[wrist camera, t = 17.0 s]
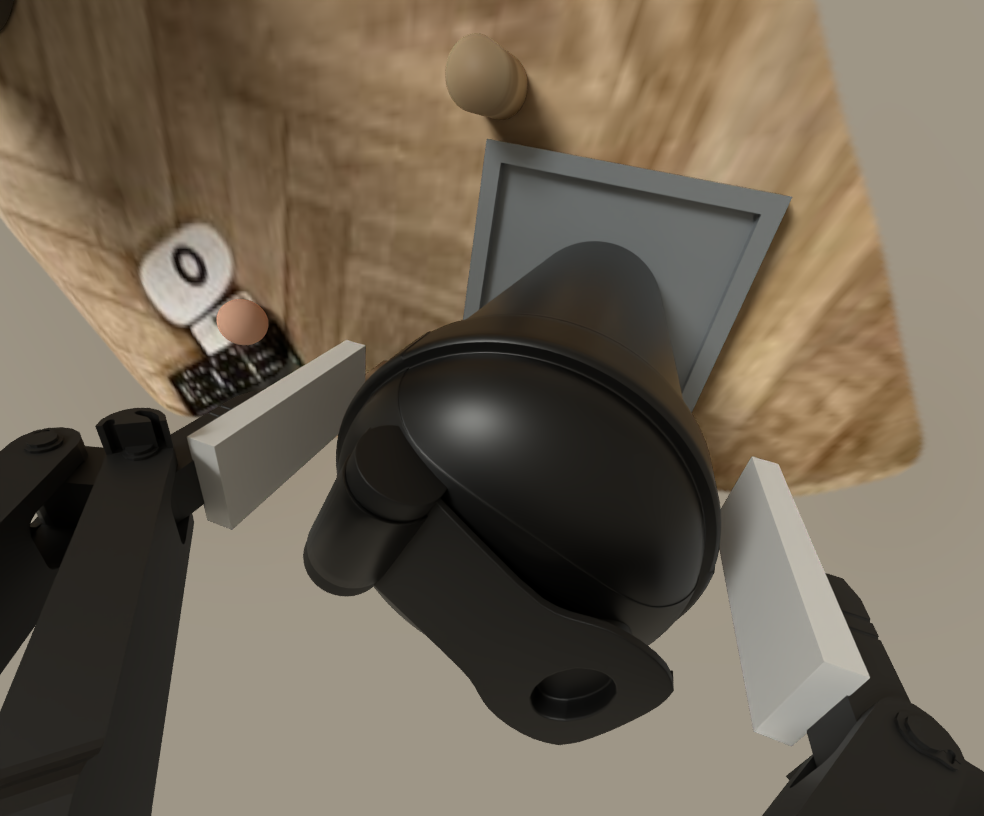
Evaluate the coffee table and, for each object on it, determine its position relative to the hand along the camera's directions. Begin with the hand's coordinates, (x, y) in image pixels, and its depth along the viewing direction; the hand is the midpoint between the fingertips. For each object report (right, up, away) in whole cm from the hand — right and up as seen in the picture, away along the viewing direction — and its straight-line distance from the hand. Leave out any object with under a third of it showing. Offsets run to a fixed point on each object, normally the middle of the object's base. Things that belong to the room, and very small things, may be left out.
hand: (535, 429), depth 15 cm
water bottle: (+5, +7, +13) cm, 16 cm away
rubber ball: (-21, +8, +22) cm, 31 cm away
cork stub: (-1, +18, +9) cm, 21 cm away
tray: (+5, +7, +13) cm, 16 cm away
